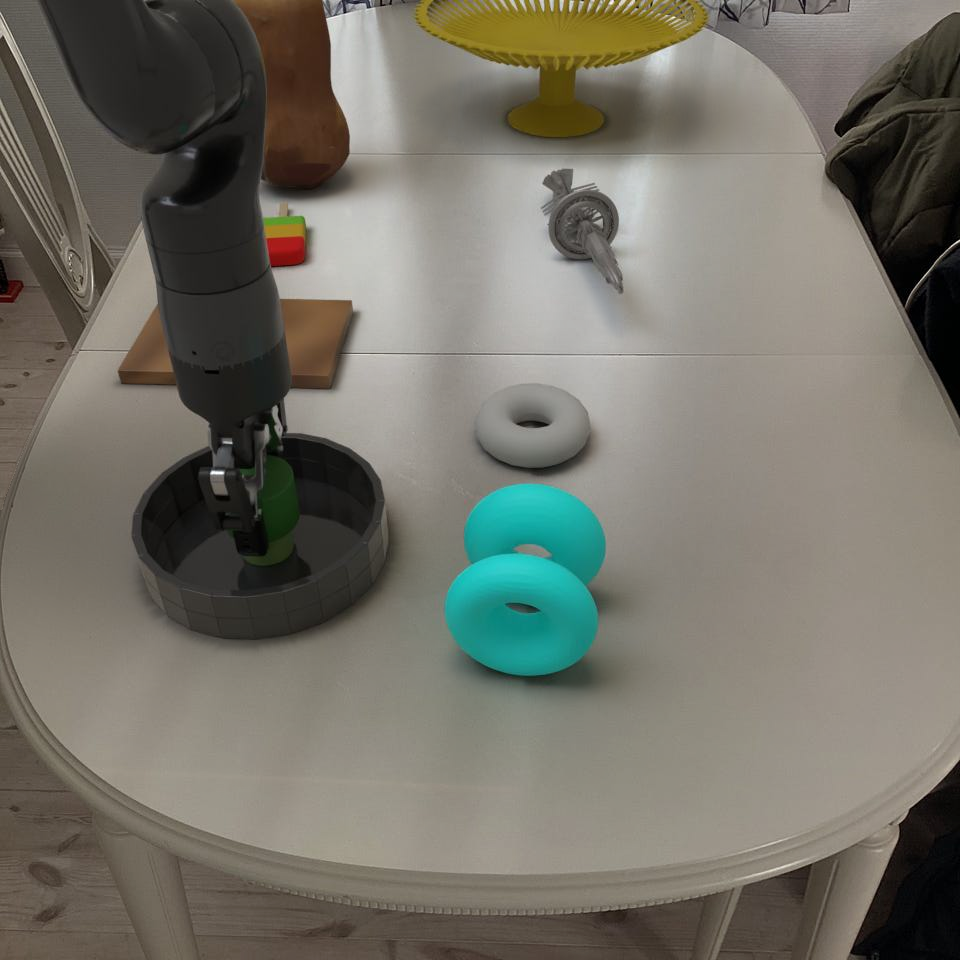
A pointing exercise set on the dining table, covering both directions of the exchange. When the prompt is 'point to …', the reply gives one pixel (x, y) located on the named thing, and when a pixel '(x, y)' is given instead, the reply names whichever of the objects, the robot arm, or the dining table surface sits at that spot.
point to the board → (308, 336)
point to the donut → (532, 443)
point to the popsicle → (285, 237)
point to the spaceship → (583, 224)
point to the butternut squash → (298, 93)
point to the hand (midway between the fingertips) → (263, 523)
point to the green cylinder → (276, 511)
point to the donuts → (527, 581)
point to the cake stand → (560, 48)
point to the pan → (275, 588)
